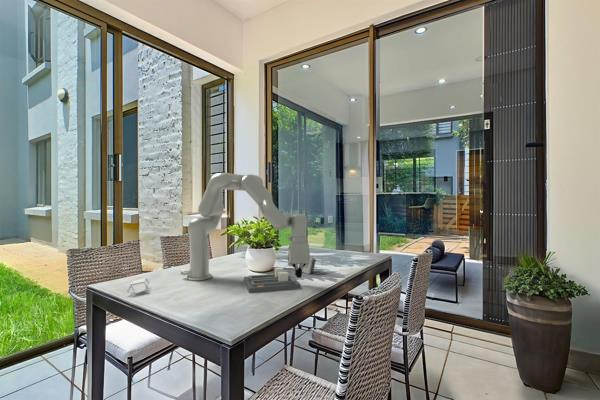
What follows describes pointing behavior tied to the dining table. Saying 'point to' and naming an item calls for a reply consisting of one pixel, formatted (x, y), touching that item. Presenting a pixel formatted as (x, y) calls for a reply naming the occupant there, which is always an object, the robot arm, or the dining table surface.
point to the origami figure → (138, 283)
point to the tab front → (282, 276)
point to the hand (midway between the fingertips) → (298, 277)
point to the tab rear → (278, 271)
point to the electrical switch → (309, 266)
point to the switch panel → (269, 283)
